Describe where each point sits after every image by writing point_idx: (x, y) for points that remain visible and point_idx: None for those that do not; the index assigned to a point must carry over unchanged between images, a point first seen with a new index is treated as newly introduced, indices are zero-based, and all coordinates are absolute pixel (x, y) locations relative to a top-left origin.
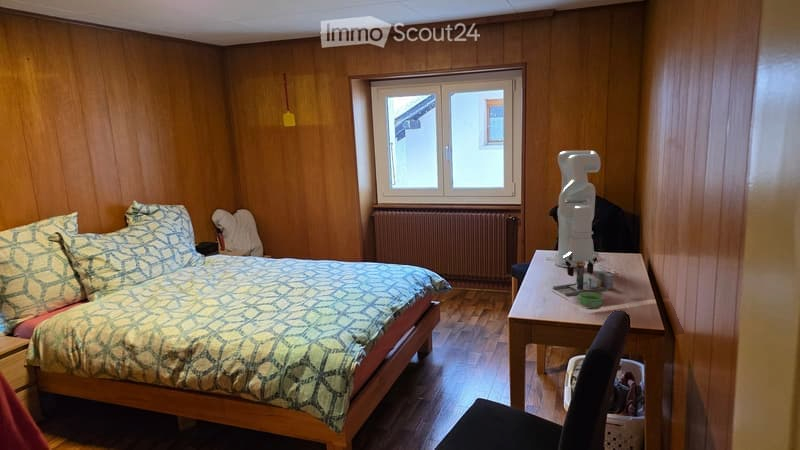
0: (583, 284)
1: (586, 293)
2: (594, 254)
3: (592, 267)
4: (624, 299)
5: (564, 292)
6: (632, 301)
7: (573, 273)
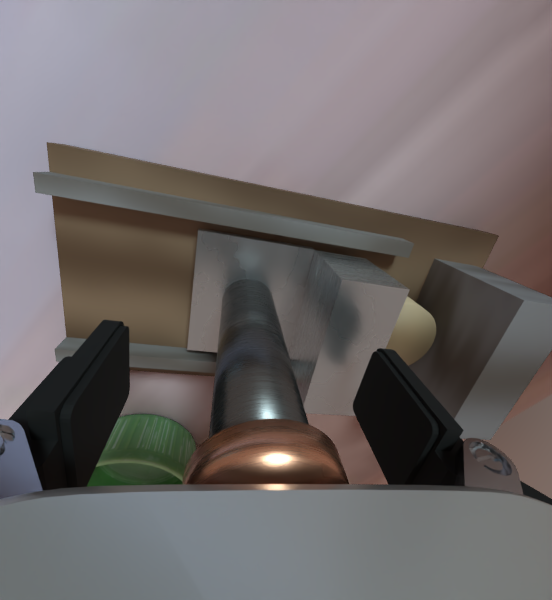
0: (307, 287)
1: (144, 461)
2: None
3: (390, 474)
4: (353, 442)
5: (95, 294)
6: (356, 465)
7: (116, 419)
